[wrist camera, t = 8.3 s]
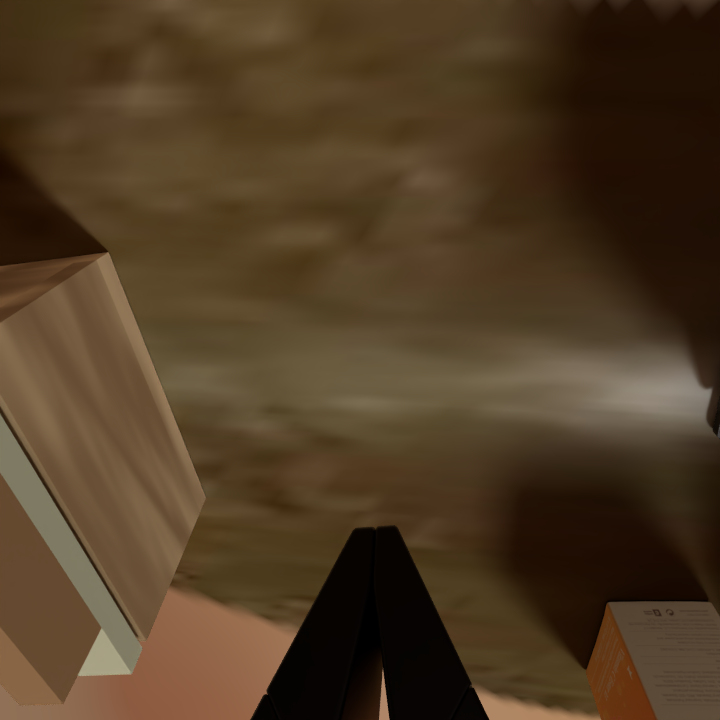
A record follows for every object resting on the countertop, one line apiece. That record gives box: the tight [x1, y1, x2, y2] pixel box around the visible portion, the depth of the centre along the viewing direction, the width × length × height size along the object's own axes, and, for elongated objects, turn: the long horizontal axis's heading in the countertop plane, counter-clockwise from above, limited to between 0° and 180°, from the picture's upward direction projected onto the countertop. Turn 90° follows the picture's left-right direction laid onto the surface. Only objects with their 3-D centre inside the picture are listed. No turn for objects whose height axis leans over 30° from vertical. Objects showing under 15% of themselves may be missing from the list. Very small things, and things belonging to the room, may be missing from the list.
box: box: [0, 252, 206, 641], centre depth 21 cm, size 9×14×8 cm, turn 8°
